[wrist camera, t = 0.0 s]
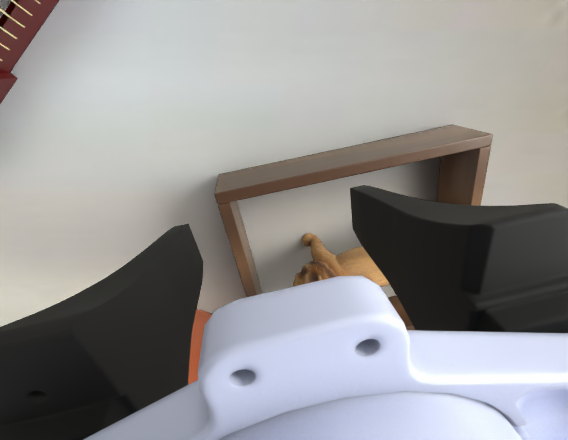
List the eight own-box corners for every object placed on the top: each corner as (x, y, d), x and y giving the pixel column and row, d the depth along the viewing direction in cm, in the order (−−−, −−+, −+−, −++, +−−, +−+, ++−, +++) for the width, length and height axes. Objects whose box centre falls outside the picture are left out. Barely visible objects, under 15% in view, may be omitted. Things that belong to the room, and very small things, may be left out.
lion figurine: (288, 290, 27) (308, 378, 20) (264, 251, 25) (274, 333, 17) (431, 225, 26) (513, 291, 18) (419, 177, 24) (509, 228, 16)
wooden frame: (434, 291, 30) (460, 320, 27) (265, 331, 30) (268, 366, 26) (453, 124, 22) (493, 133, 18) (218, 174, 21) (213, 193, 18)
